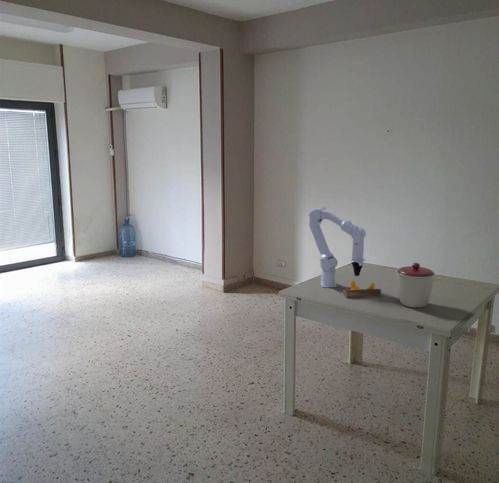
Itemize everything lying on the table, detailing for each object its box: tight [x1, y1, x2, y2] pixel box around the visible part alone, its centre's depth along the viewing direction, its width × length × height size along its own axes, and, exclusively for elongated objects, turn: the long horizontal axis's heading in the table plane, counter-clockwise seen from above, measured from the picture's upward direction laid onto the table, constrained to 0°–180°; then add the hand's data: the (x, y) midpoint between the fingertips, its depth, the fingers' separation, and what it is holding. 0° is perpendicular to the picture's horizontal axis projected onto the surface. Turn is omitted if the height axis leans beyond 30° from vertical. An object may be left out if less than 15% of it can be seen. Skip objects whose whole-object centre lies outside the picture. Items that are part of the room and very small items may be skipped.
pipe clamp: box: [349, 280, 376, 290], centre depth 253 cm, size 12×4×6 cm, turn 72°
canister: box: [395, 262, 436, 309], centre depth 235 cm, size 18×18×21 cm
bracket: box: [342, 288, 382, 299], centre depth 252 cm, size 6×18×4 cm, turn 94°
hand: (356, 275), depth 260 cm, fingers closed
